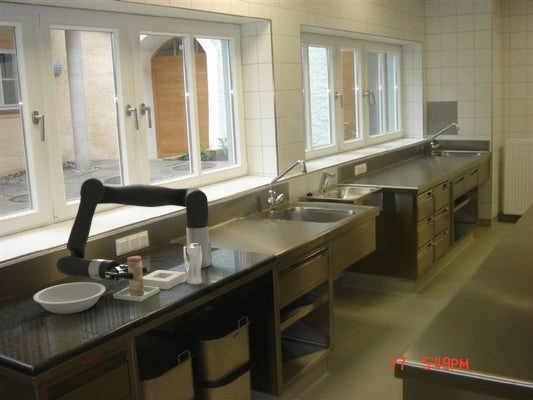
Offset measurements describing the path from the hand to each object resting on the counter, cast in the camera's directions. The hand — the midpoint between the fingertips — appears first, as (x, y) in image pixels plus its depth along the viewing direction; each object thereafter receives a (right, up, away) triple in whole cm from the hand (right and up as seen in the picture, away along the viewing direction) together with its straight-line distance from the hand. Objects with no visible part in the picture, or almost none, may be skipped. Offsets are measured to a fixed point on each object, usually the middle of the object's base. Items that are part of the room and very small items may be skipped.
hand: (139, 273), depth 229 cm
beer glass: (+18, -6, +16) cm, 25 cm away
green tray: (-1, -9, +2) cm, 9 cm away
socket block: (+6, -6, +16) cm, 18 cm away
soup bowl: (-21, -12, -10) cm, 27 cm away
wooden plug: (-1, -8, +2) cm, 9 cm away
